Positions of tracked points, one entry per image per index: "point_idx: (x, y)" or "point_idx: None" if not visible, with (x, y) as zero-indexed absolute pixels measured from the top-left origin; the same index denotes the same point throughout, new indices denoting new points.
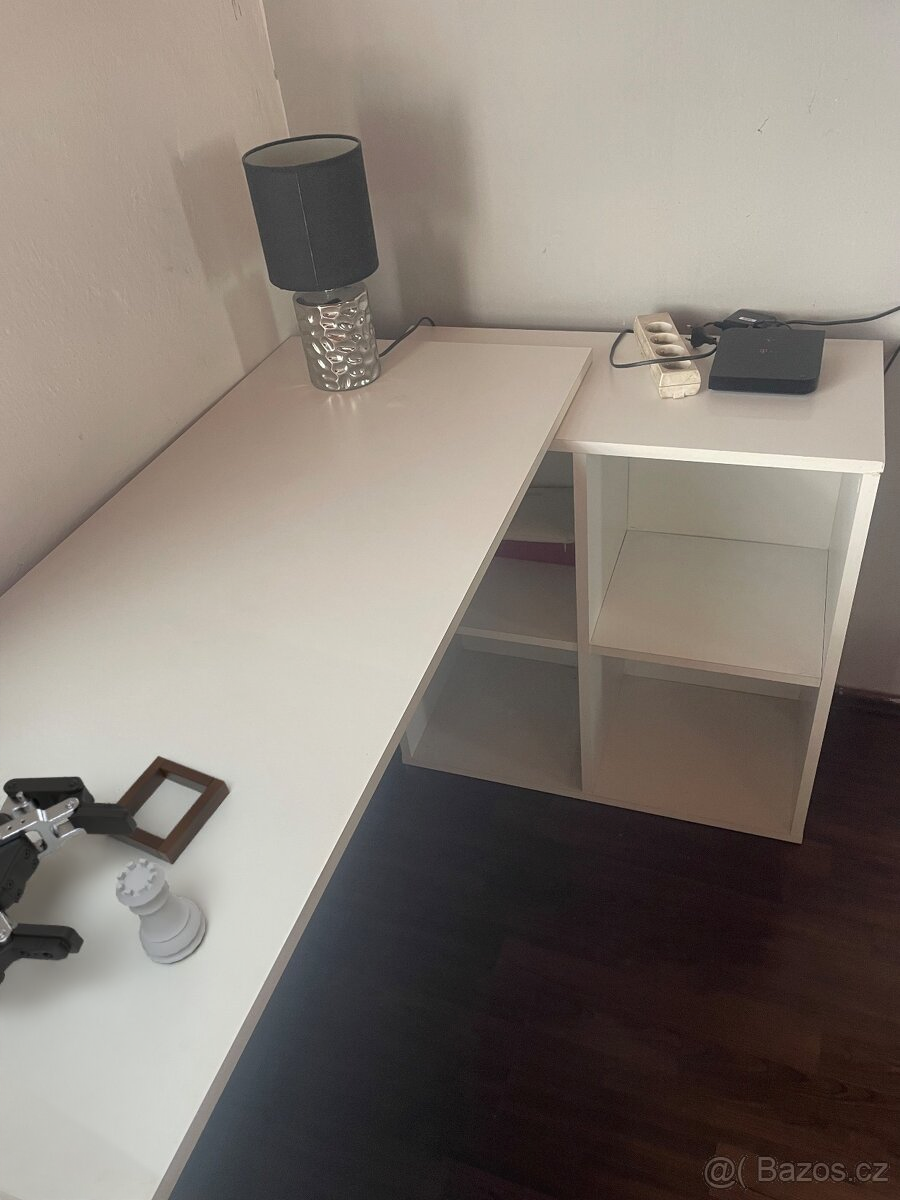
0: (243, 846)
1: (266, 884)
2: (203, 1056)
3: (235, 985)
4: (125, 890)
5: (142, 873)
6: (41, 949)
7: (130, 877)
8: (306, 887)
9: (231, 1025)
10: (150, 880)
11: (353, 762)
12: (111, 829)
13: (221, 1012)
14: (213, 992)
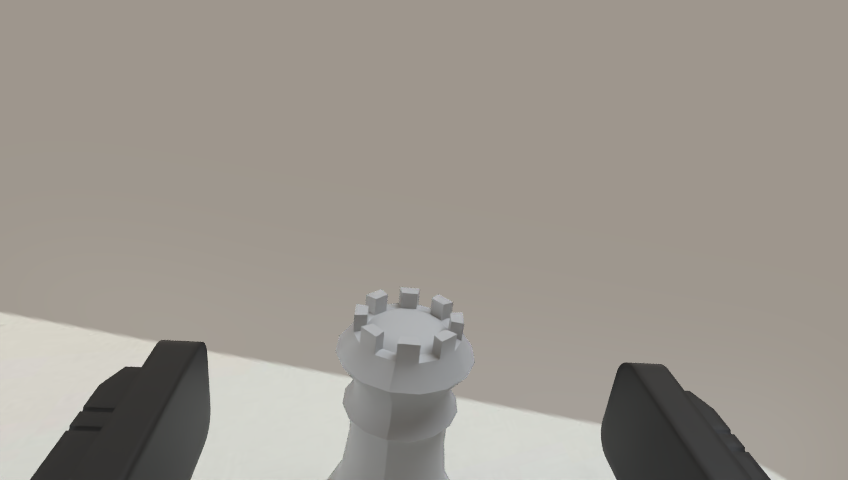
0: None
1: (265, 419)
2: (587, 441)
3: (465, 425)
4: (456, 321)
5: (393, 316)
6: (727, 430)
7: (408, 334)
8: (282, 367)
9: (527, 417)
10: (418, 289)
11: (9, 339)
12: (181, 463)
13: (514, 434)
14: (486, 453)
